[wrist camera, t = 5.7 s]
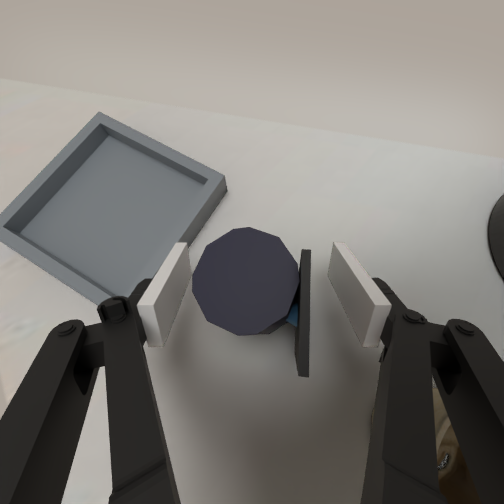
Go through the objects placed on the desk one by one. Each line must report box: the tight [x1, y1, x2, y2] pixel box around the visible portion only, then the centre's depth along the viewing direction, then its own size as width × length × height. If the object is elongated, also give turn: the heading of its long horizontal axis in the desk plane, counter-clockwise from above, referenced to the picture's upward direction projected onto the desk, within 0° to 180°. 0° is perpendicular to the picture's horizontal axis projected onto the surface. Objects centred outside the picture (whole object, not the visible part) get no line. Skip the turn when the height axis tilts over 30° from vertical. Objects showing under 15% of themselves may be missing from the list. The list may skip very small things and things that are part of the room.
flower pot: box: [372, 388, 481, 504], centre depth 14 cm, size 9×9×9 cm
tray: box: [0, 112, 227, 306], centre depth 22 cm, size 14×14×2 cm
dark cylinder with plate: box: [192, 227, 311, 377], centre depth 16 cm, size 8×6×10 cm
